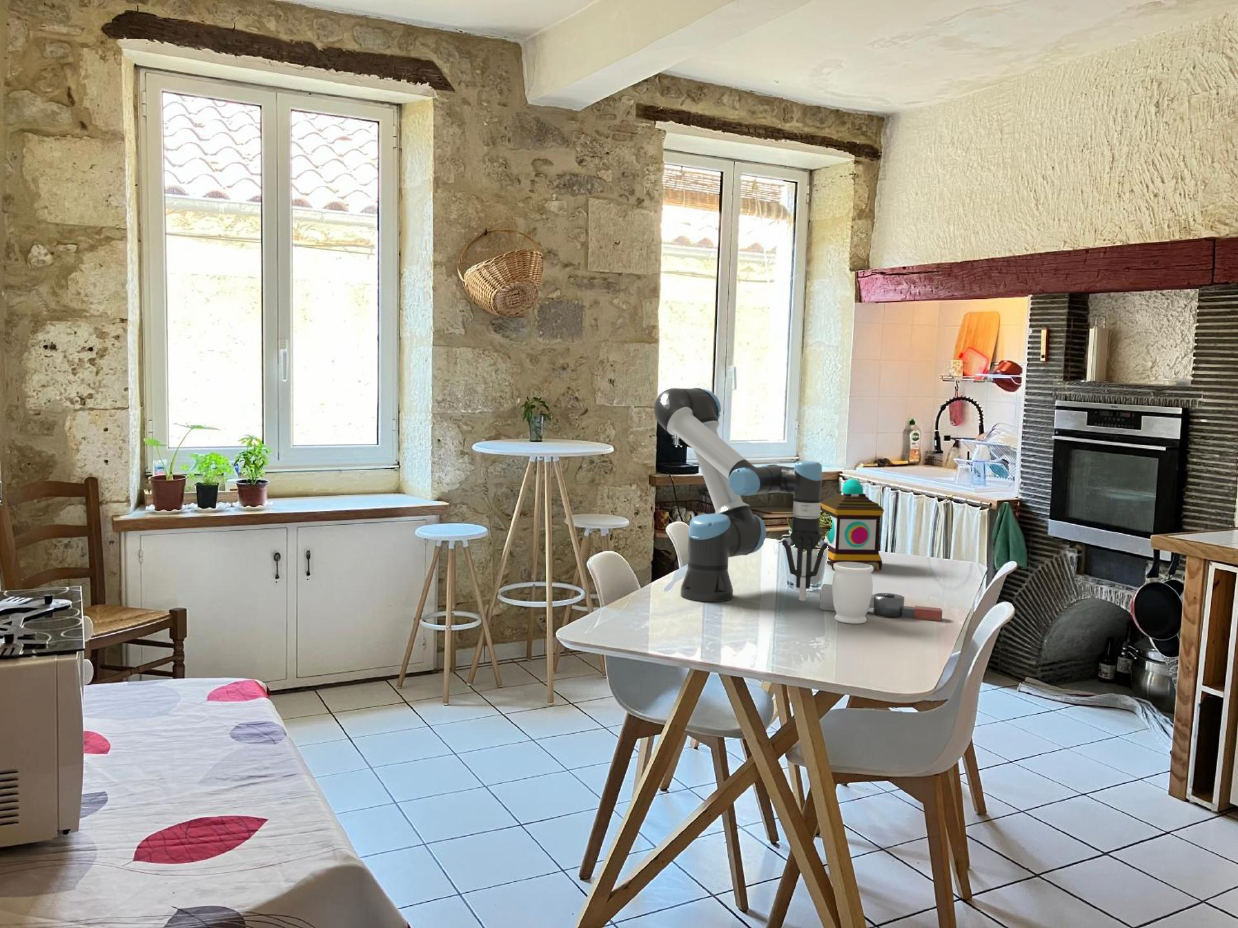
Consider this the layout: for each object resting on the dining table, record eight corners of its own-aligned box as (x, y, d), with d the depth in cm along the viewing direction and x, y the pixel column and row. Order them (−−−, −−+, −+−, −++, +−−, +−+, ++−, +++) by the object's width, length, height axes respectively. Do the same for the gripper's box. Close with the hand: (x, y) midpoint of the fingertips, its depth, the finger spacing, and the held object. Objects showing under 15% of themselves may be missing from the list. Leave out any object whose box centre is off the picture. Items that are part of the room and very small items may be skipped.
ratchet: (857, 614, 270) (858, 594, 269) (859, 608, 277) (860, 588, 277) (941, 623, 263) (943, 602, 263) (941, 616, 271) (942, 596, 270)
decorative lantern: (811, 559, 347) (815, 474, 344) (865, 560, 350) (870, 475, 347) (829, 571, 328) (834, 481, 325) (887, 571, 330) (892, 482, 327)
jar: (847, 627, 256) (850, 570, 255) (822, 617, 265) (825, 562, 264) (879, 623, 261) (882, 567, 260) (852, 613, 270) (855, 560, 269)
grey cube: (818, 609, 274) (820, 587, 273) (821, 604, 280) (822, 583, 279) (842, 611, 272) (843, 590, 271) (843, 606, 278) (845, 585, 277)
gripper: (781, 516, 274) (777, 600, 276) (828, 520, 270) (824, 604, 272) (784, 513, 281) (781, 594, 284) (831, 516, 277) (827, 598, 280)
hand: (802, 599), depth 278 cm, fingers closed
